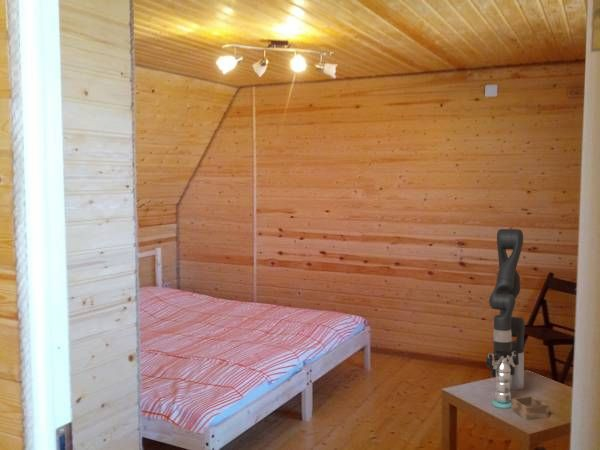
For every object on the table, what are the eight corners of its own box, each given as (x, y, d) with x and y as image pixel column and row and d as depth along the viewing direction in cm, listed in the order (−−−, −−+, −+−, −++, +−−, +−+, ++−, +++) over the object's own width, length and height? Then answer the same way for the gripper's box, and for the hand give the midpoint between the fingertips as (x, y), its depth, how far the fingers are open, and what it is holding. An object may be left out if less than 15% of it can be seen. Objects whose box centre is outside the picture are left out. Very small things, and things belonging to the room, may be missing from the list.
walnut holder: (511, 410, 255) (511, 398, 255) (532, 407, 257) (532, 396, 257) (526, 420, 244) (526, 408, 244) (548, 417, 247) (548, 405, 246)
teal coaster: (487, 402, 265) (487, 399, 265) (506, 399, 267) (506, 397, 267) (499, 409, 256) (499, 407, 256) (517, 407, 258) (517, 404, 258)
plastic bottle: (491, 400, 263) (491, 355, 262) (504, 398, 266) (504, 353, 264) (501, 405, 257) (501, 359, 256) (514, 403, 260) (514, 357, 258)
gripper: (512, 335, 264) (512, 371, 266) (482, 338, 261) (483, 375, 262) (522, 339, 257) (522, 376, 258) (492, 343, 254) (492, 380, 255)
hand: (502, 375), depth 260 cm, fingers open, 8 cm apart
